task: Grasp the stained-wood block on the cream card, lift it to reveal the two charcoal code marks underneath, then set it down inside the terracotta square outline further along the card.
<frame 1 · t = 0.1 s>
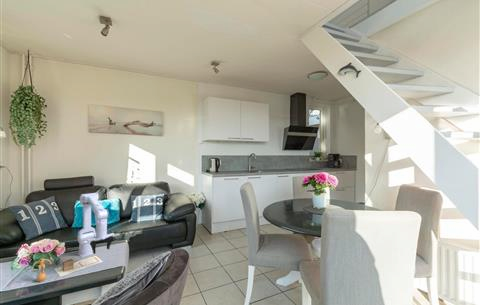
hand: (101, 251, 133), 10 cm above the table, tool pointing down, fingers open, 7 cm apart
code card: (79, 265, 134), on the table
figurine: (41, 280, 119), on the table
stained block: (67, 269, 130), resting on code card
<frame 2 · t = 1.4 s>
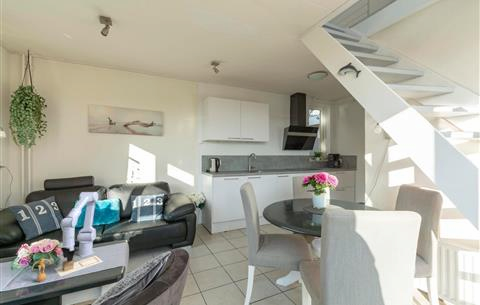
hand: (68, 259, 130), 6 cm above the table, tool pointing down, fingers open, 7 cm apart
nothing on the table moved.
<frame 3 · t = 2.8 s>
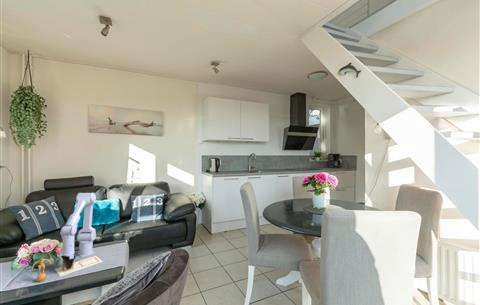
hand: (68, 267, 130), 1 cm above the table, tool pointing down, fingers closed on stained block, 4 cm apart
stained block: (67, 269, 130), resting on code card, touching gripper
everything else where it was.
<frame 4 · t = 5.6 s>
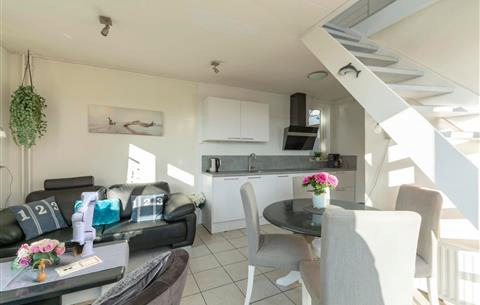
hand: (78, 252, 134), 8 cm above the table, tool pointing down, fingers closed on stained block, 4 cm apart
stained block: (77, 255, 134), point 7 cm above the table, touching gripper
everything else where it was.
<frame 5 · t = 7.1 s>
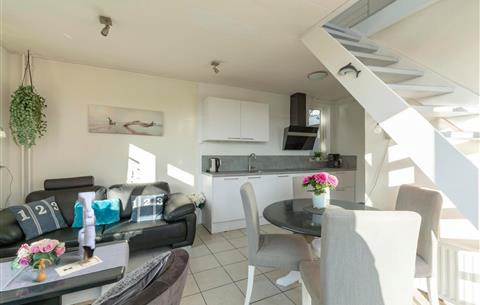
hand: (89, 256, 138), 4 cm above the table, tool pointing down, fingers closed on stained block, 4 cm apart
stained block: (88, 258, 138), point 2 cm above the table, touching gripper
everything else where it was.
when the fingers open (3 cm above the table, at t = 8.2 s): stained block stays where it is, resting on code card.
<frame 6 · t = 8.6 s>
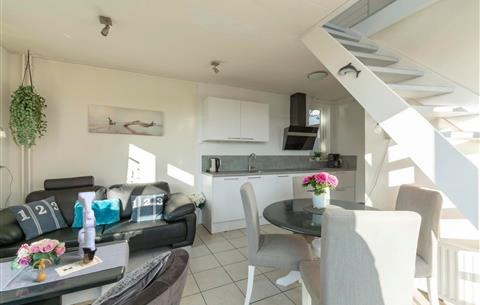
hand: (89, 258, 138), 3 cm above the table, tool pointing down, fingers open, 7 cm apart
stained block: (88, 262, 138), resting on code card
everything else where it was.
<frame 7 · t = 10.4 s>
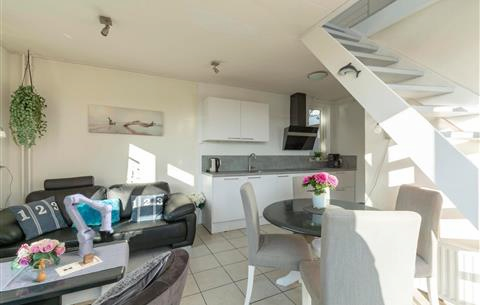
hand: (106, 241, 150), 9 cm above the table, tool pointing down, fingers open, 7 cm apart
nothing on the table moved.
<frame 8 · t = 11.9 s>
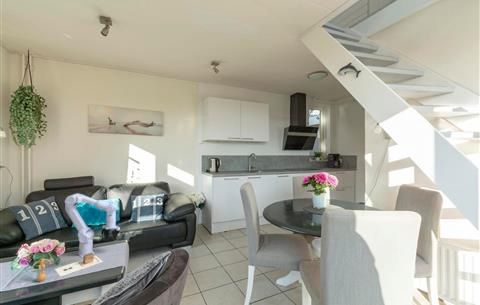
hand: (110, 239, 154), 9 cm above the table, tool pointing down, fingers open, 7 cm apart
nothing on the table moved.
at the end: stained block 0.3 cm from the target spot, resting on code card; stained block tilted 0°; the gripper is holding nothing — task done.
